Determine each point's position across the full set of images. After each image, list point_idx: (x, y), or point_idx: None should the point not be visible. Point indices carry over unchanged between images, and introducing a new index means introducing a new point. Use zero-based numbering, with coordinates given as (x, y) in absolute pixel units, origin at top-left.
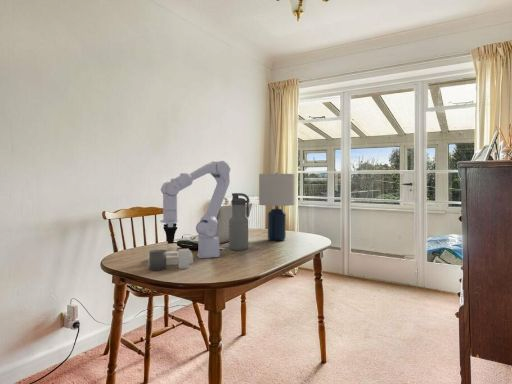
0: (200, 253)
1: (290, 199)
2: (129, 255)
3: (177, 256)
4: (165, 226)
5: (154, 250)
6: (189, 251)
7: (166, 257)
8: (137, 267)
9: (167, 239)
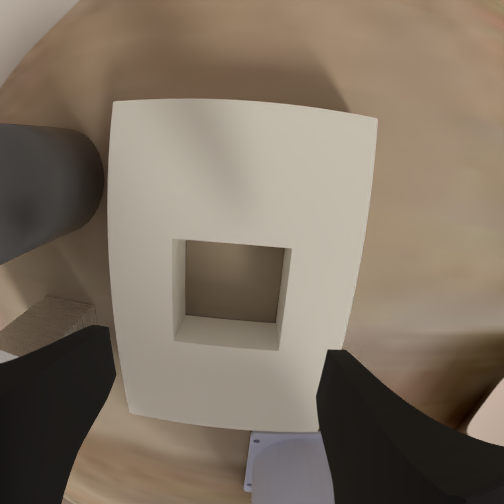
0: (276, 454)
1: None
2: (491, 41)
3: (138, 336)
4: (415, 497)
5: (4, 165)
6: (287, 424)
7: (120, 255)
8: (132, 48)
9: (56, 344)
